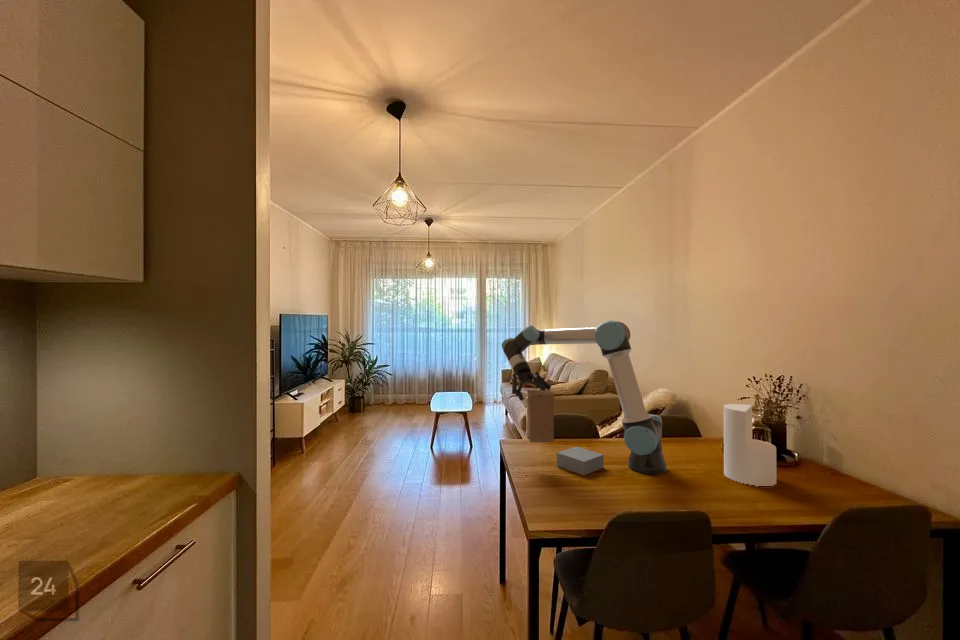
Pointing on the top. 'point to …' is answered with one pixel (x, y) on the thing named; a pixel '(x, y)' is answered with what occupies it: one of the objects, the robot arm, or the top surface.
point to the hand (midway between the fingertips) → (539, 404)
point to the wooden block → (540, 416)
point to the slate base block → (580, 460)
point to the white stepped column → (746, 449)
